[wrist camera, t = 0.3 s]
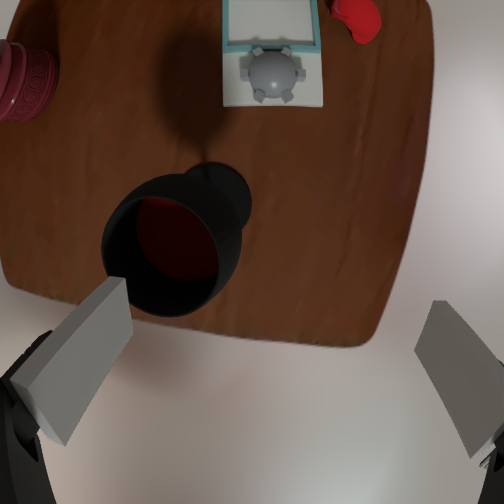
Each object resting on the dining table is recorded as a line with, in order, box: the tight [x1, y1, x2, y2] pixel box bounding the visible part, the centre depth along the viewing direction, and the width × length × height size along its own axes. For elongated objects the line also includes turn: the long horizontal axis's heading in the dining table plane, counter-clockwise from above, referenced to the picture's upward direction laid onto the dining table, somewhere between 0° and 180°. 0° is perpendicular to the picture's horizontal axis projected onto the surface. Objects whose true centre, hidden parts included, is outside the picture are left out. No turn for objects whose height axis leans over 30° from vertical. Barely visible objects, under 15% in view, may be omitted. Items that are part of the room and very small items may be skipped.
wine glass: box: [101, 164, 252, 317], centre depth 27 cm, size 10×10×20 cm
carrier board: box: [223, 0, 323, 107], centre depth 27 cm, size 19×12×4 cm, turn 1°
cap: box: [331, 0, 382, 44], centre depth 24 cm, size 8×6×6 cm
